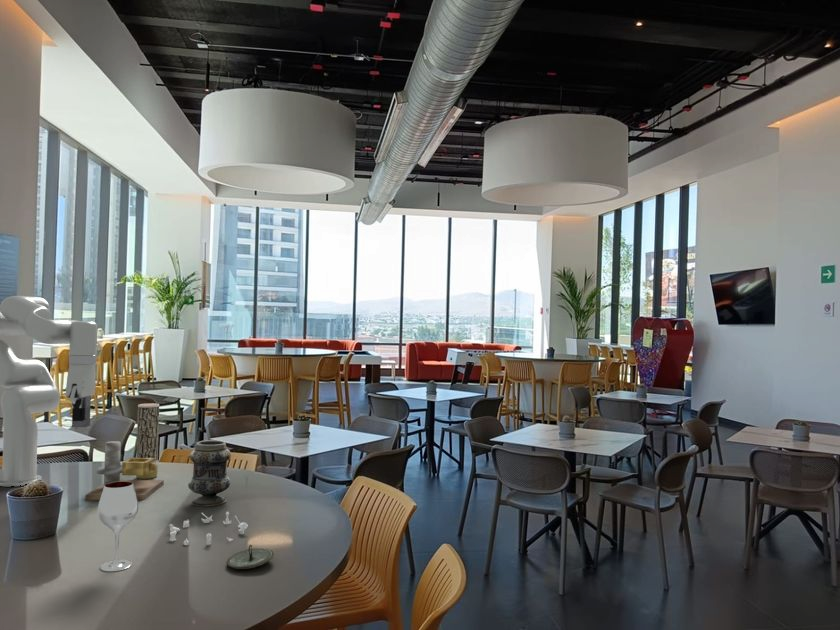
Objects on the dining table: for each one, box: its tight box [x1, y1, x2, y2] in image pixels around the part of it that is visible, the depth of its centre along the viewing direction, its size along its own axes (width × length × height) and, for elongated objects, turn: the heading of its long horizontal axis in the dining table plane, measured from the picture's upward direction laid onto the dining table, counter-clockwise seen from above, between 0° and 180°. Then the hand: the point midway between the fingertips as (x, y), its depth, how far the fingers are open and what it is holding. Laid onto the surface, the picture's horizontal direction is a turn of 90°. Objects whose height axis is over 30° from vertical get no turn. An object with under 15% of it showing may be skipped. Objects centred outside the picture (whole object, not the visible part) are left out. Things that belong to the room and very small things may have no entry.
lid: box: [226, 544, 275, 570], centre depth 143 cm, size 11×10×5 cm
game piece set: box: [168, 510, 249, 546], centre depth 163 cm, size 19×20×4 cm
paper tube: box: [135, 402, 160, 480], centre depth 219 cm, size 7×7×25 cm
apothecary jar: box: [187, 439, 232, 508], centre depth 191 cm, size 12×12×18 cm
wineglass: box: [96, 481, 139, 573], centre depth 140 cm, size 8×8×18 cm
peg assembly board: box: [84, 440, 165, 501], centre depth 200 cm, size 18×18×16 cm
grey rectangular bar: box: [71, 395, 92, 428], centre depth 197 cm, size 4×3×11 cm
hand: (80, 419), depth 197 cm, fingers closed on grey rectangular bar, 3 cm apart
